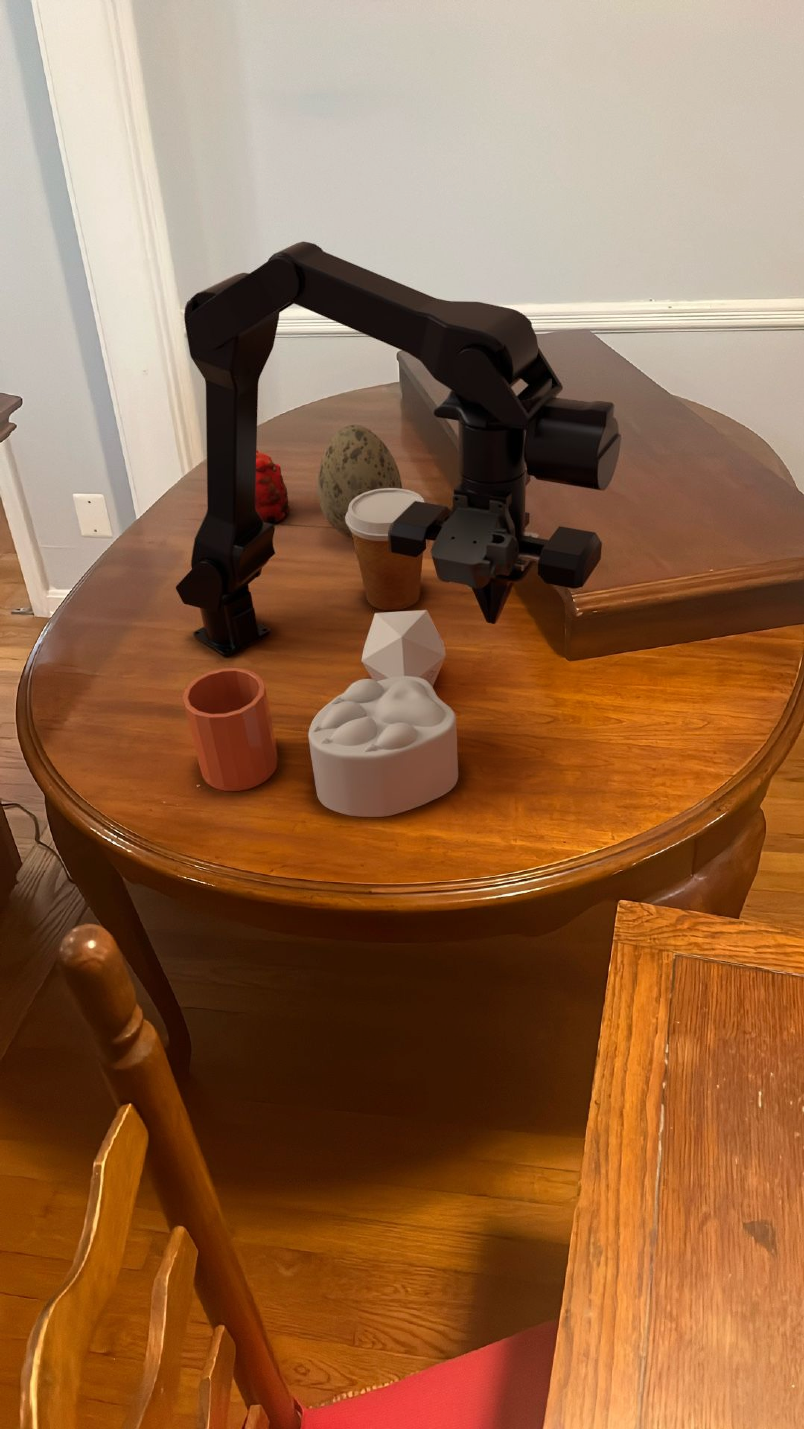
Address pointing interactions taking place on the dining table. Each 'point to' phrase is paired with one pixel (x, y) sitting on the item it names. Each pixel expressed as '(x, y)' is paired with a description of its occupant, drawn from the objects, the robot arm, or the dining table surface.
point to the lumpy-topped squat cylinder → (383, 747)
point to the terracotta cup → (231, 728)
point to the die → (403, 646)
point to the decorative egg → (353, 472)
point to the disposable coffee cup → (384, 548)
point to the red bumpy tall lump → (270, 490)
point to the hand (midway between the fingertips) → (492, 621)
